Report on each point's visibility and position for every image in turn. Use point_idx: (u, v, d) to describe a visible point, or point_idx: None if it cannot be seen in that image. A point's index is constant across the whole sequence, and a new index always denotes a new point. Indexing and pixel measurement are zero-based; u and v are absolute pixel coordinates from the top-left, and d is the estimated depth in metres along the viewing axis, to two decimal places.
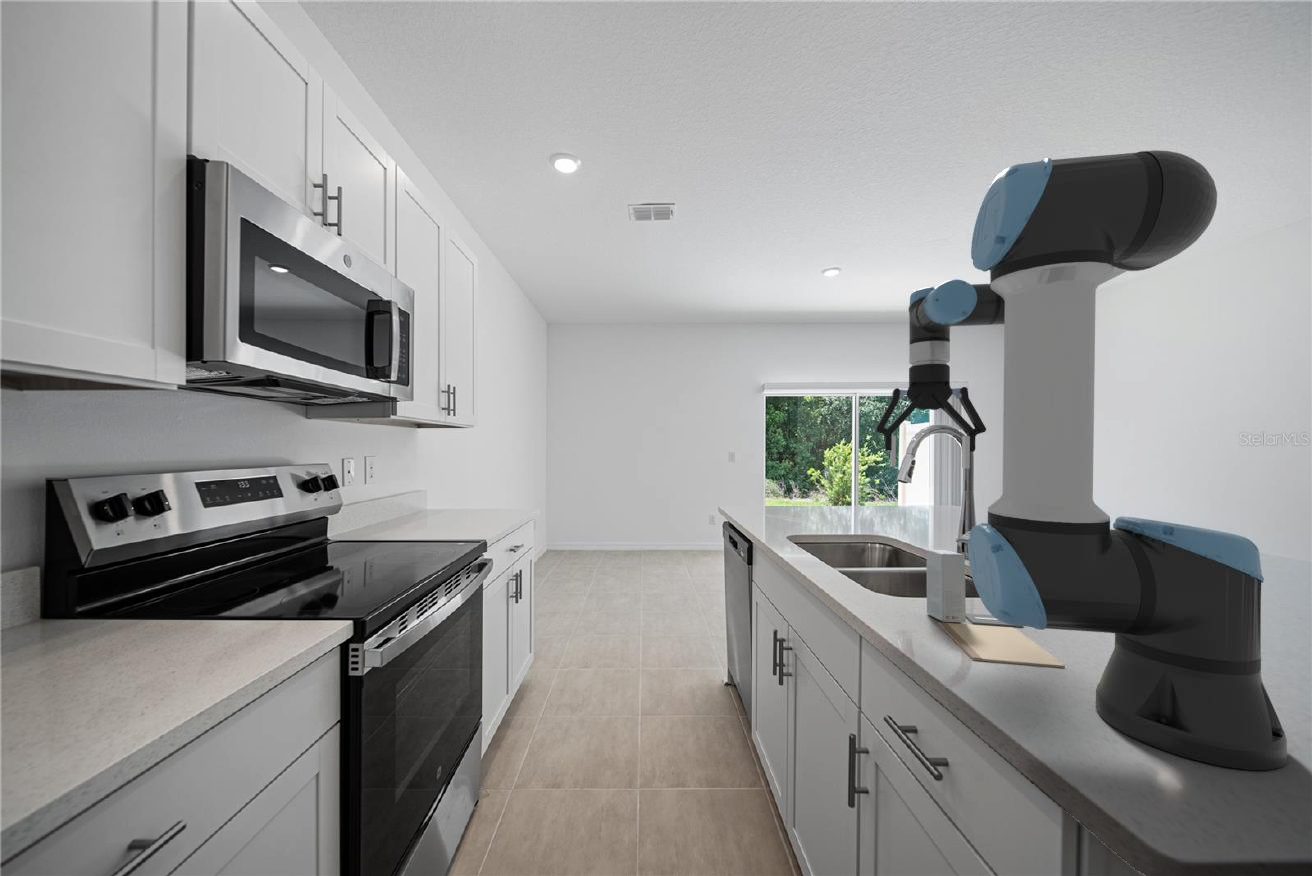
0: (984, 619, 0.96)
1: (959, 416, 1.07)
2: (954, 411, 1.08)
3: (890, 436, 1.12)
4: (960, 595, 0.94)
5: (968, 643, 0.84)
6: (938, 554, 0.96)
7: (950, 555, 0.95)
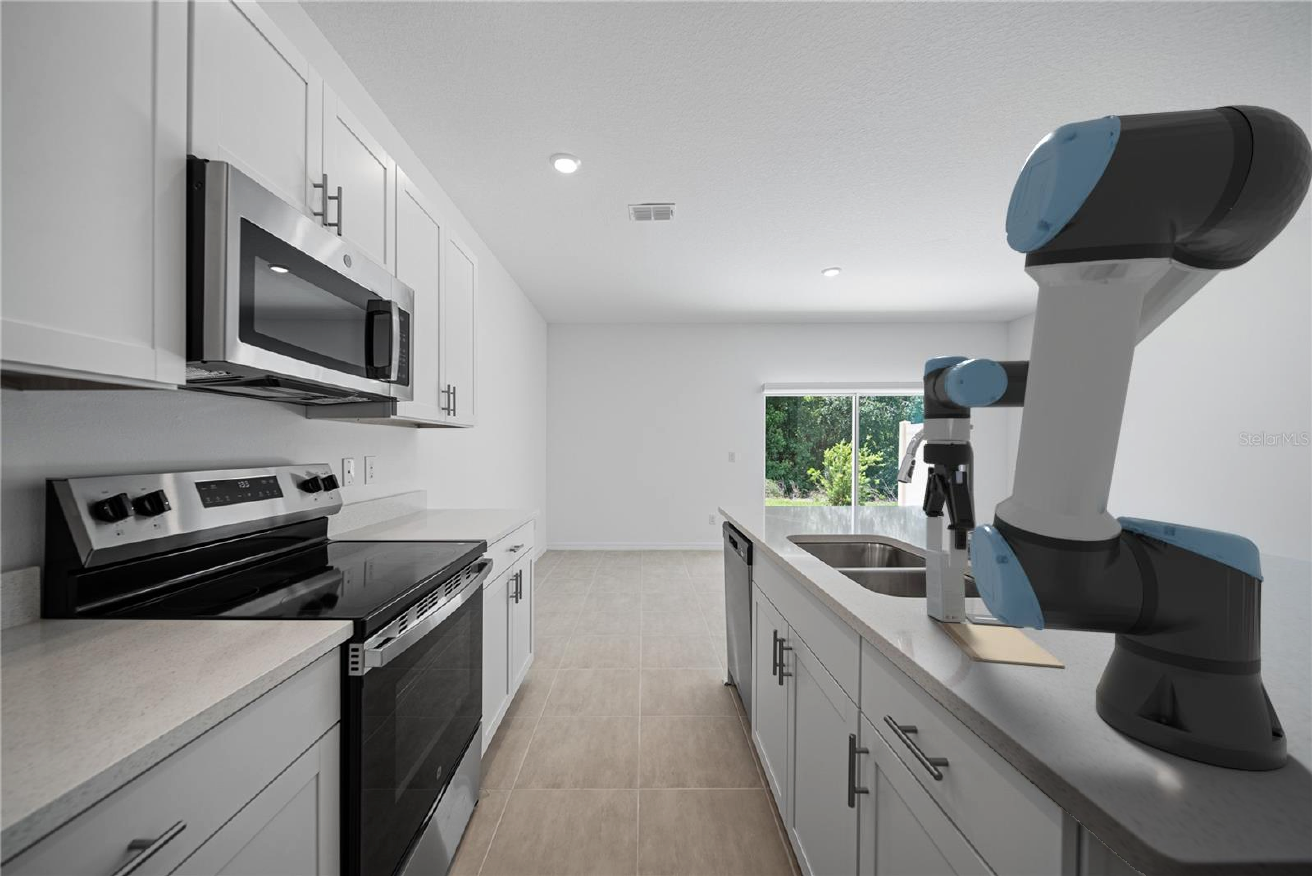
0: (984, 619, 0.96)
1: (948, 505, 0.92)
2: (946, 498, 0.93)
3: (929, 517, 1.05)
4: (960, 595, 0.94)
5: (968, 643, 0.84)
6: (937, 554, 0.96)
7: None
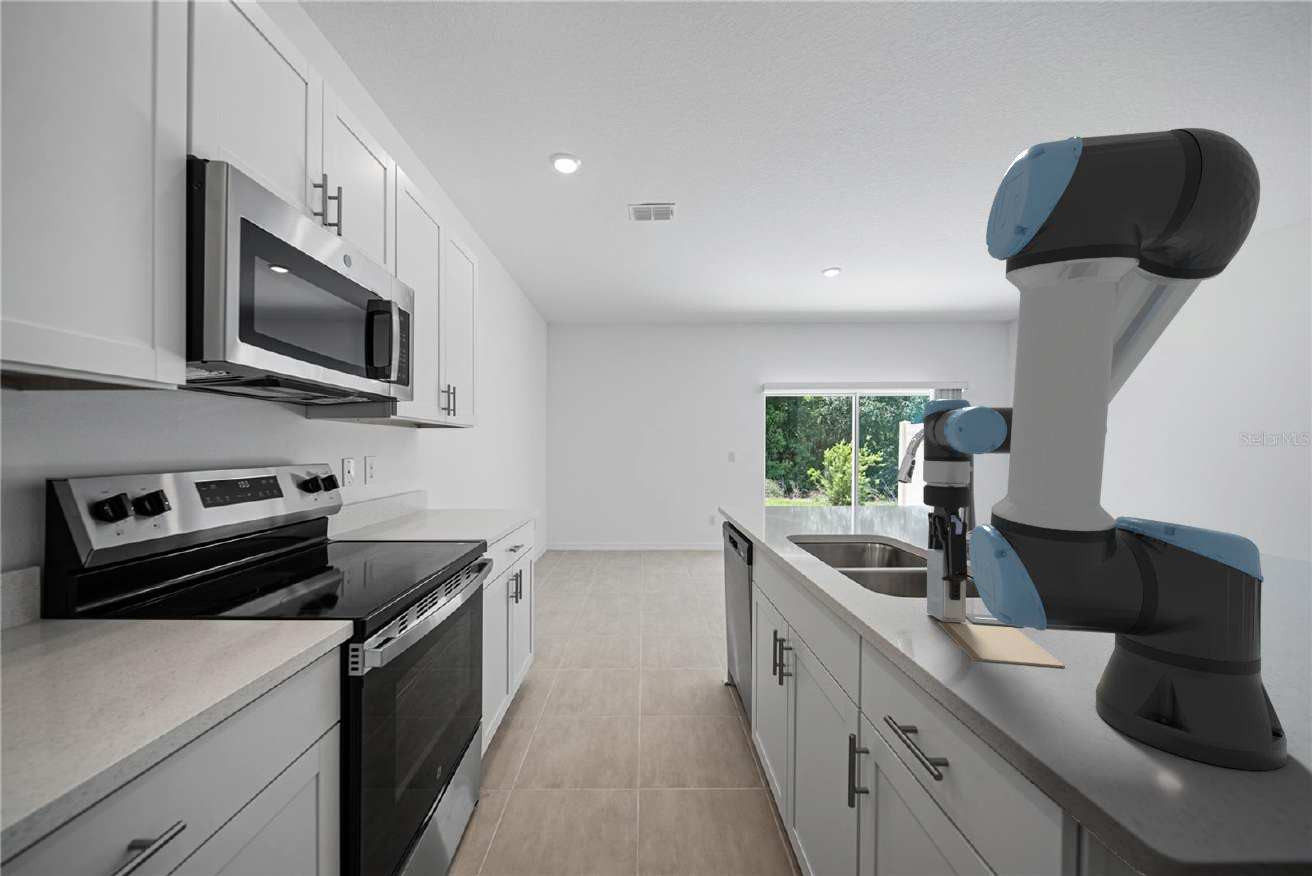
0: (984, 619, 0.96)
1: (945, 553, 0.94)
2: (944, 545, 0.94)
3: None
4: None
5: (968, 643, 0.84)
6: (939, 554, 0.96)
7: None
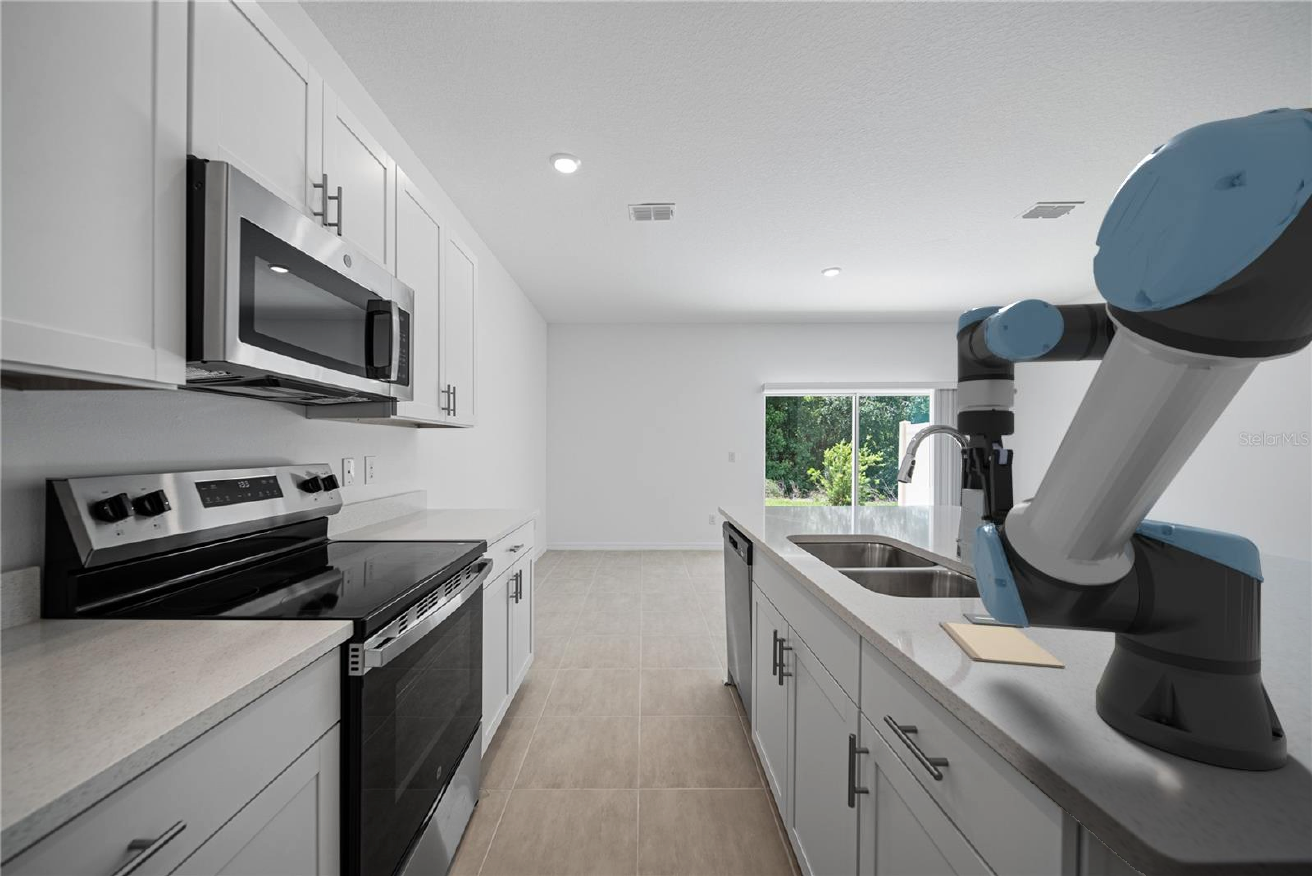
0: (984, 619, 0.96)
1: (985, 489, 0.79)
2: (984, 480, 0.80)
3: None
4: None
5: (968, 643, 0.84)
6: (978, 493, 0.81)
7: None
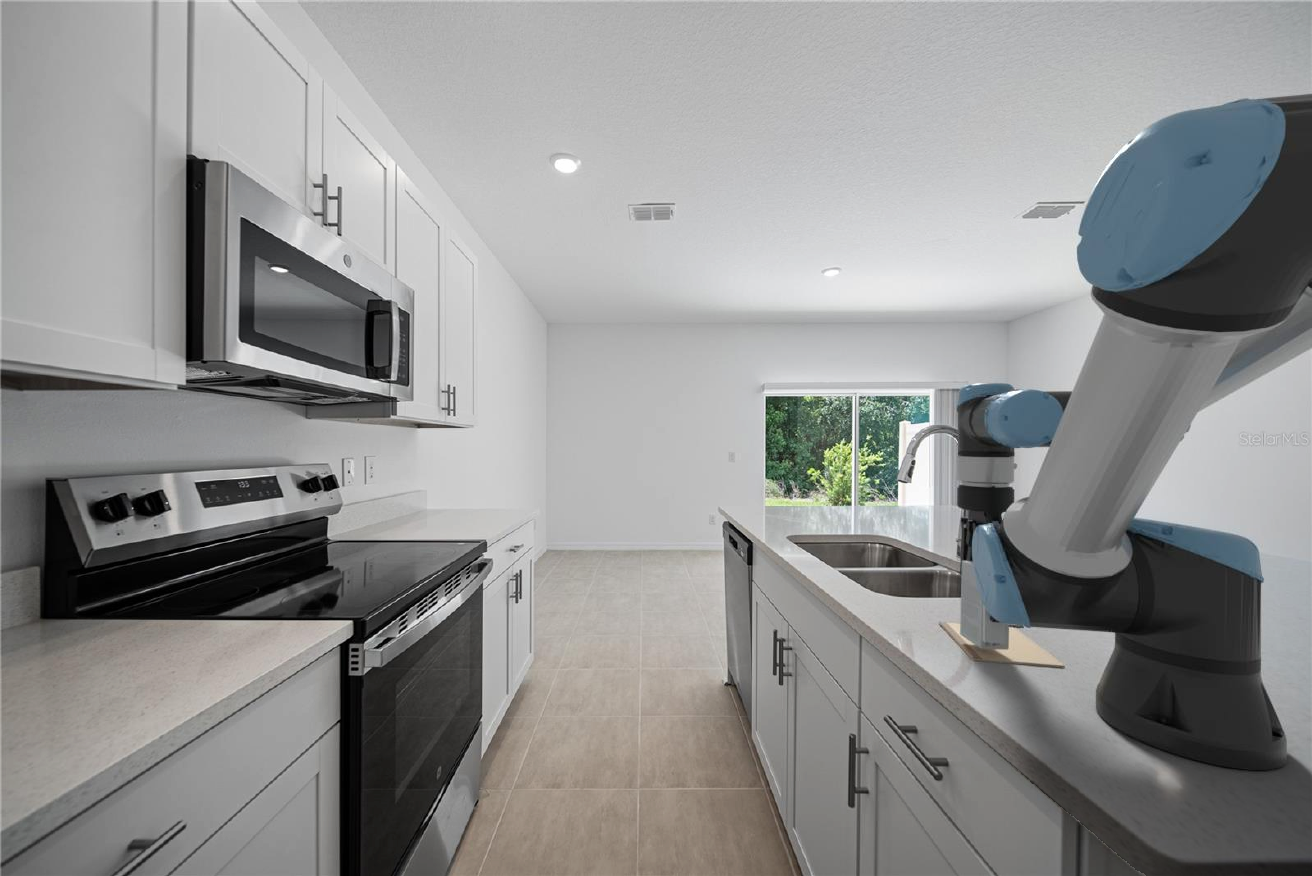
0: None
1: None
2: None
3: None
4: None
5: (968, 643, 0.84)
6: None
7: None
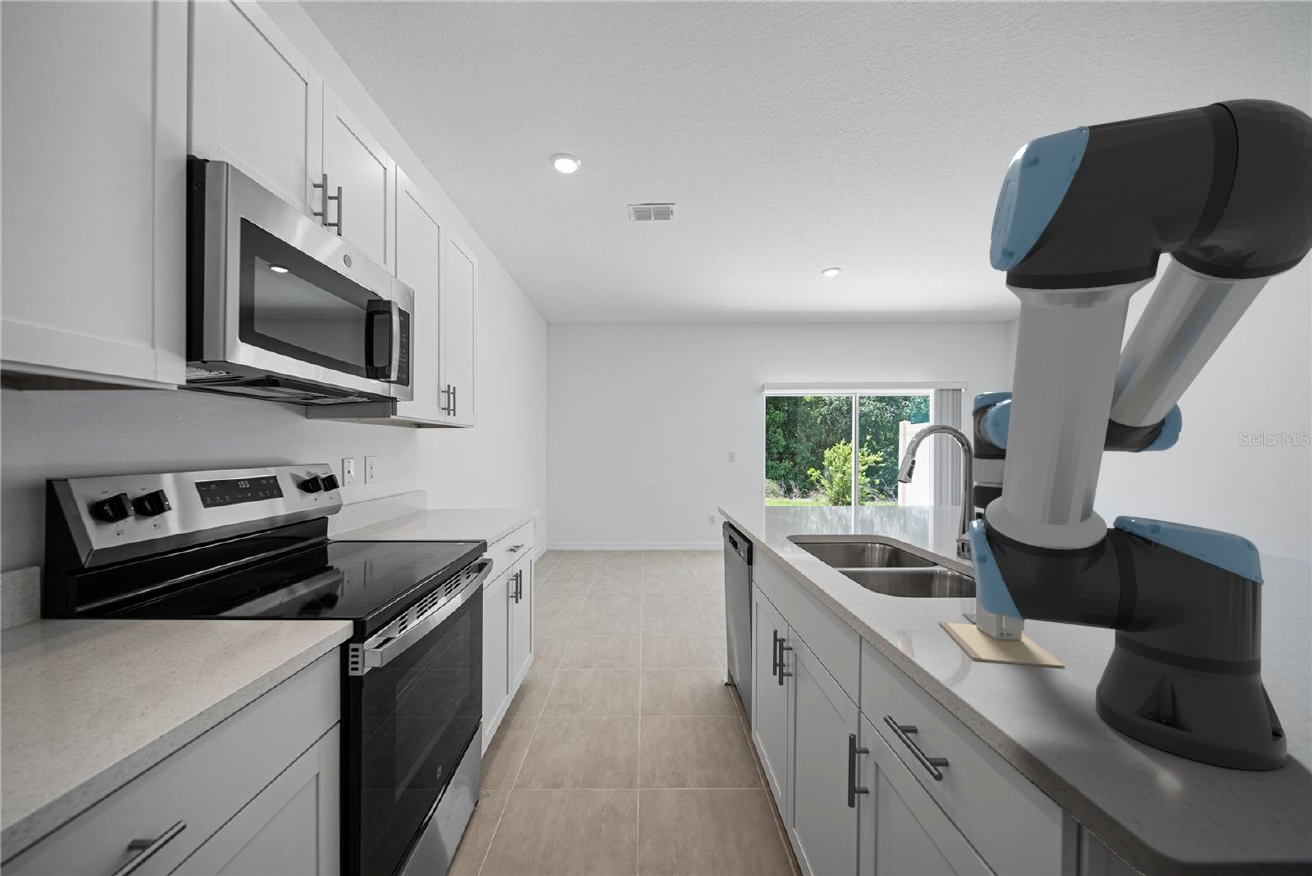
0: None
1: None
2: None
3: None
4: None
5: (968, 643, 0.84)
6: None
7: None
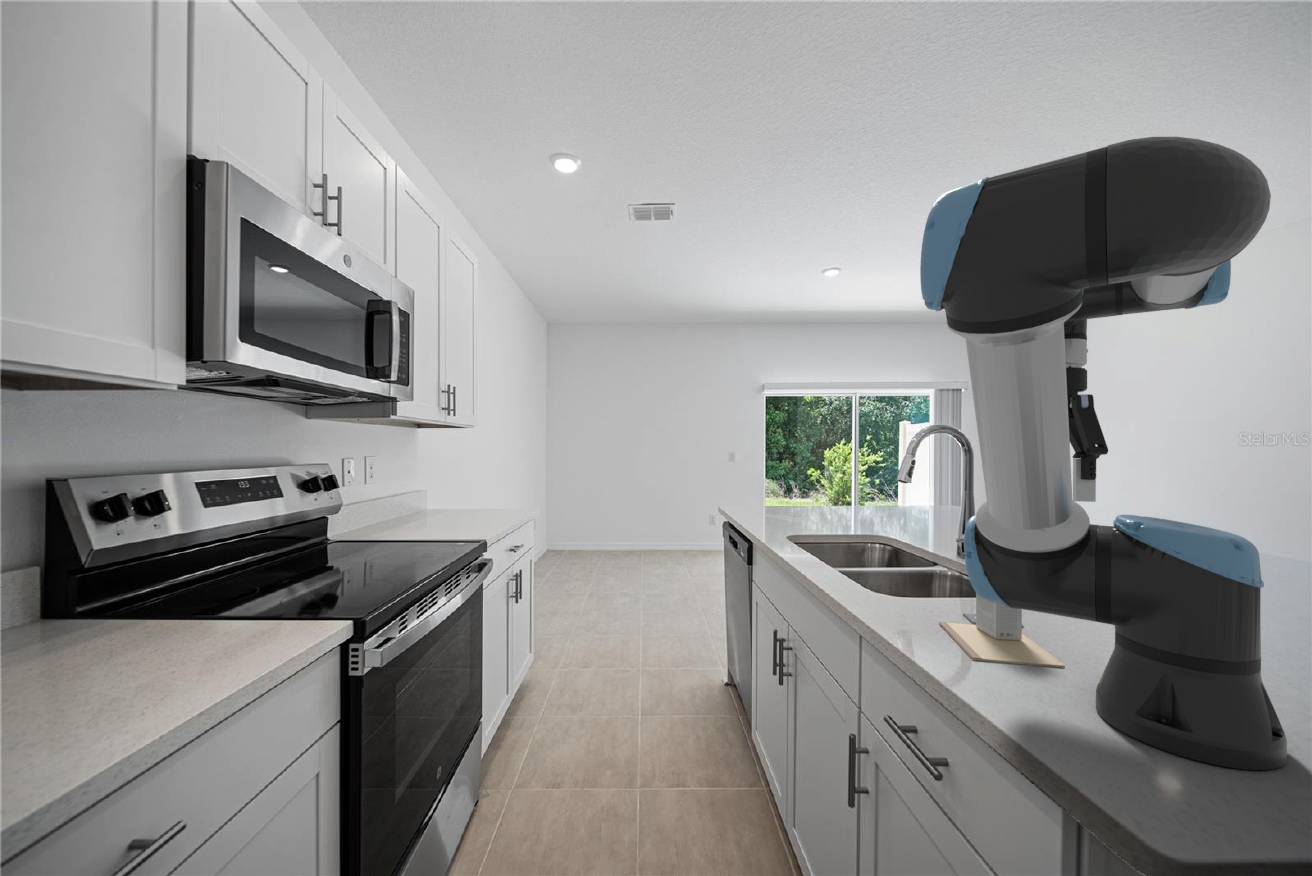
0: None
1: (1070, 433, 0.83)
2: None
3: None
4: (1016, 610, 0.86)
5: (968, 643, 0.84)
6: None
7: None
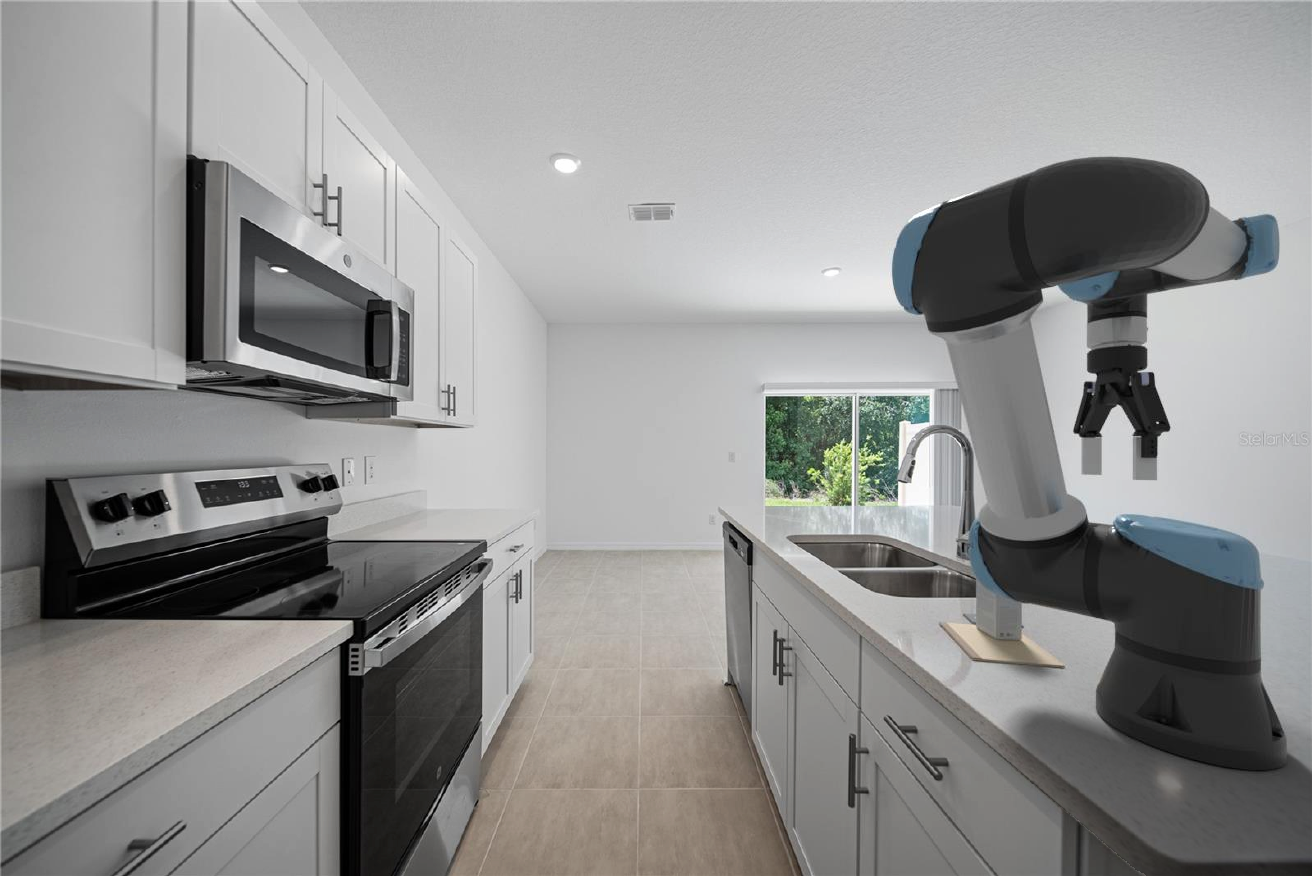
0: None
1: (1129, 411, 0.82)
2: (1125, 405, 0.83)
3: None
4: (1016, 610, 0.86)
5: (968, 643, 0.84)
6: None
7: None
